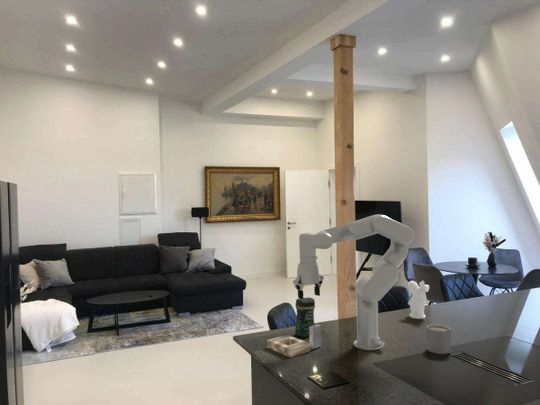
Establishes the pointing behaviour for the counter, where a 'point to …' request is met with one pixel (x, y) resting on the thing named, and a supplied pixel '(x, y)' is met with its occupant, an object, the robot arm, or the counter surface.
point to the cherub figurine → (417, 299)
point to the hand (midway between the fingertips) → (309, 296)
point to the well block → (288, 345)
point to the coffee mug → (438, 339)
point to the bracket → (315, 336)
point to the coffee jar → (304, 316)
